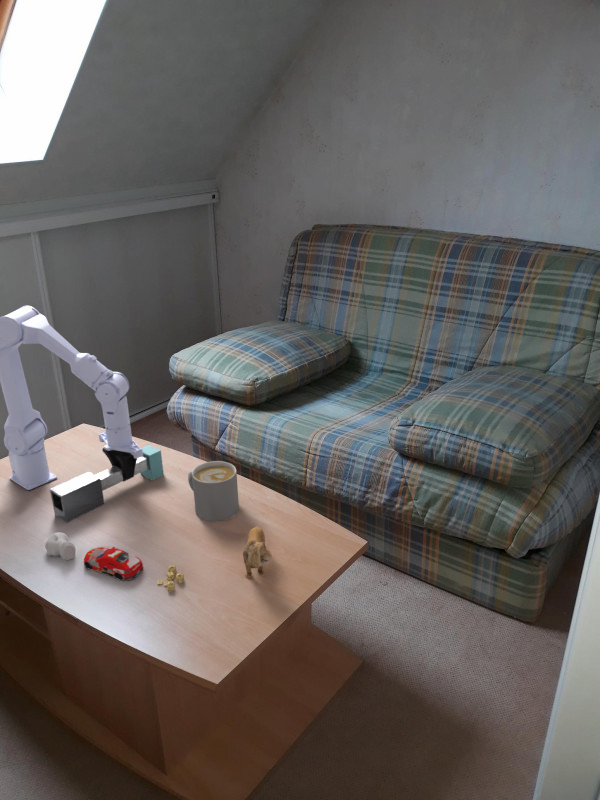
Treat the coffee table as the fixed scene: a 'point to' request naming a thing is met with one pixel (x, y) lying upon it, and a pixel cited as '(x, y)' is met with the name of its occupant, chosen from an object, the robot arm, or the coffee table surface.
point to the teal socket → (153, 462)
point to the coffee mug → (215, 490)
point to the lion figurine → (255, 552)
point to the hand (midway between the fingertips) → (124, 475)
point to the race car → (113, 563)
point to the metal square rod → (121, 473)
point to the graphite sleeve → (77, 496)
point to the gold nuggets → (170, 577)
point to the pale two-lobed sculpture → (60, 546)
